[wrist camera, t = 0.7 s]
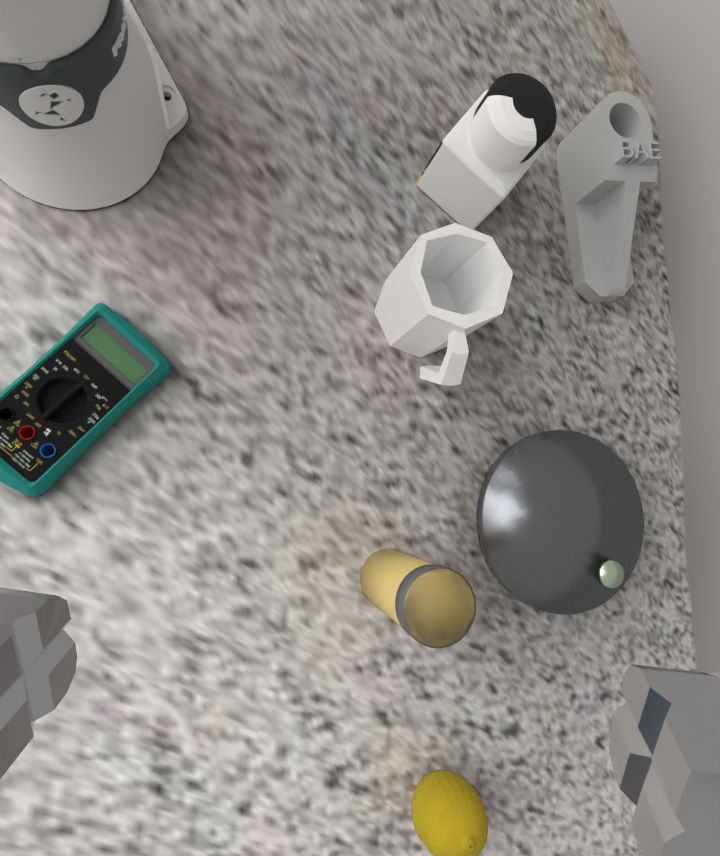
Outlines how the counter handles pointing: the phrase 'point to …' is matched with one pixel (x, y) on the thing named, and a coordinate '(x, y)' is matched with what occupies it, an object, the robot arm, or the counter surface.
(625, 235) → the sloped support bracket
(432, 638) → the yellow lidded tumbler
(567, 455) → the plate
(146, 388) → the digital multimeter
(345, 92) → the counter surface
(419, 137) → the counter surface
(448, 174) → the medicine bottle
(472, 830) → the lemon
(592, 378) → the counter surface
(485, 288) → the mug
